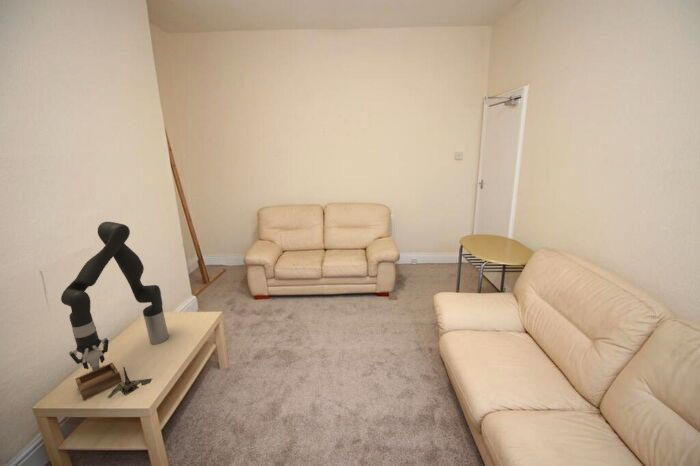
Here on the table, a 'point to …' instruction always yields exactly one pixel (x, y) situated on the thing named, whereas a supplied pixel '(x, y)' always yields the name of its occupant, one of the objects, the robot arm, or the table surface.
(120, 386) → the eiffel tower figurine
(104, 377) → the wooden tray
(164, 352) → the table surface
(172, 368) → the table surface
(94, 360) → the lightbulb
